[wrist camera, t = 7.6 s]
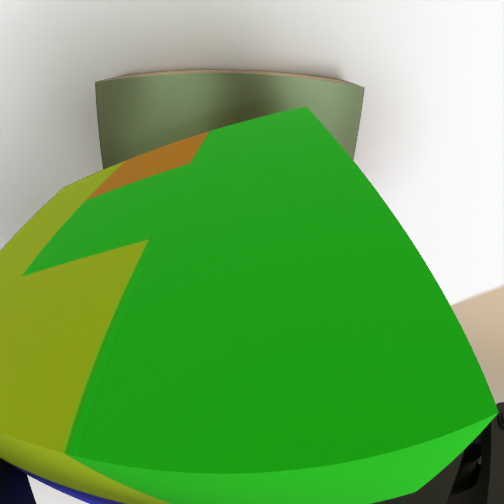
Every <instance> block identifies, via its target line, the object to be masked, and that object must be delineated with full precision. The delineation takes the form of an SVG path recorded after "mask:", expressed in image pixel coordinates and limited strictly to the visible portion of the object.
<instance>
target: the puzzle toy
mask: <svg viewBox="0 0 504 504" xmlns="http://www.w3.org/2000/svg"><path fill="white" fill-rule="evenodd" d="M498 413H499V412H498V409H497V407H496V404H495V402H494V399H493V396H492V394H491V391H490V389H489V386H488V384H487V382H486V379H485V377H484V374H483V372H482V370H481V367H480V365H479V363H478V361H477V358H476V356H475V354H474V352H473V350H472V348H471V346H470V344H469V342H468V340H467V337H466V335H465V333H464V331H463V329H462V327H461V325H460V324H459V322H458V320H457V318H456V316H455V314H454V313H453V310H452V308H451V306H450V305H449V303H448V301H447V299H446V297H445V296H444V294H443V292H442V290H441V288H440V287H439V285H438V283H437V282H436V280H435V278H434V276H433V275H432V273H431V271H430V270H429V268H428V266H427V265H426V263H425V262H424V260H423V258H422V257H421V255H420V254H419V252H418V250H417V249H416V247H415V246H414V244H413V243H412V241H411V240H410V238H409V236H408V235H407V233H406V232H405V230H404V229H403V228H402V226H401V225H400V223H399V222H398V220H397V219H396V217H395V216H394V214H393V213H392V212H391V210H390V209H389V207H388V206H387V205H386V203H385V202H384V200H383V199H382V198H381V196H380V195H379V194H378V192H377V191H376V190H375V188H374V187H373V186H372V184H371V183H370V182H369V180H368V179H367V178H366V176H365V175H364V174H363V172H362V171H361V170H360V169H359V167H358V166H357V165H356V164H355V162H354V161H353V160H352V159H351V157H350V156H349V155H348V154H347V152H346V151H345V150H344V149H343V148H342V146H341V145H340V144H339V143H338V142H337V140H336V139H335V138H334V137H333V136H332V135H331V133H330V132H329V131H328V130H327V129H326V128H325V127H324V125H323V124H322V123H321V122H320V121H319V120H318V119H317V118H316V116H315V115H314V114H313V113H312V112H311V111H310V110H309V109H308V108H307V107H302V108H297V109H293V110H288V111H284V112H279V113H275V114H271V115H267V116H263V117H259V118H255V119H251V120H247V121H243V122H240V123H236V124H233V125H229V126H225V127H222V128H219V129H215V130H212V131H209V132H205V133H202V134H199V135H196V136H193V137H190V138H187V139H184V140H181V141H178V142H175V143H172V144H169V145H166V146H163V147H160V148H158V149H155V150H152V151H149V152H147V153H144V154H141V155H139V156H136V157H134V158H131V159H128V160H126V161H123V162H121V163H118V164H116V165H114V166H111V167H109V168H106V169H104V170H102V171H99V172H97V173H95V174H92V175H90V176H88V177H86V178H84V179H81V180H79V181H77V182H75V183H73V184H71V185H68V186H66V187H64V188H63V189H62V190H61V191H59V192H58V193H57V194H56V195H55V196H54V197H53V198H52V199H51V200H50V201H49V202H48V203H46V204H45V205H44V206H43V207H42V208H41V209H40V210H39V211H38V212H37V213H36V214H35V215H34V216H33V217H32V218H31V219H30V220H29V221H28V222H27V223H26V224H25V225H24V226H23V227H22V228H21V229H20V230H19V231H18V232H17V233H16V235H15V236H14V237H13V238H12V239H11V240H10V241H9V242H8V243H7V244H6V245H5V246H4V248H3V249H2V250H1V251H0V458H1V459H3V460H4V461H6V462H7V463H9V464H10V465H12V466H14V467H15V468H17V469H19V470H20V471H22V472H24V473H25V474H27V475H29V476H31V477H32V478H35V479H37V480H38V481H40V482H42V483H44V484H46V485H48V486H50V487H52V488H54V489H57V490H59V491H61V492H63V493H66V494H68V495H70V496H72V497H75V498H77V499H79V500H82V501H84V502H87V503H89V504H400V503H402V502H403V501H404V500H406V499H407V498H408V497H410V496H411V495H412V494H414V493H415V492H416V491H418V490H419V489H420V488H421V487H423V486H424V485H425V484H426V483H428V482H429V481H430V480H431V479H432V478H434V477H435V476H436V475H437V474H438V473H439V472H441V471H442V470H443V469H444V468H445V467H446V466H447V465H448V464H450V463H451V462H452V461H453V460H454V459H455V458H456V457H457V456H458V455H459V454H460V453H461V452H462V451H463V450H464V449H465V448H466V447H467V446H468V445H469V444H470V443H471V442H472V441H473V440H474V439H475V438H476V437H477V436H478V435H479V434H480V433H481V432H482V431H483V430H484V429H485V428H486V426H487V425H488V424H489V423H490V422H491V421H492V420H493V419H494V417H495V416H496V415H497V414H498Z"/></svg>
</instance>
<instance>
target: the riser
mask: <svg viewBox="0 0 504 504" xmlns="http://www.w3.org/2000/svg"><path fill="white" fill-rule="evenodd" d="M95 88H96V104H97V117H98V128H99V138H100V147H101V155H102V163H103V170H104V169H106V168H109V167H111V166H114V165H116V164H118V163H121V162H123V161H126V160H128V159H131V158H134V157H136V156H139V155H141V154H144V153H147V152H149V151H152V150H155V149H158V148H160V147H163V146H166V145H169V144H172V143H175V142H178V141H181V140H184V139H187V138H190V137H193V136H196V135H199V134H202V133H205V132H209V131H212V130H215V129H219V128H222V127H225V126H229V125H233V124H236V123H240V122H243V121H247V120H251V119H255V118H259V117H263V116H267V115H271V114H275V113H279V112H284V111H288V110H293V109H297V108H302V107H307V108H308V109H309V110H310V111H311V112H312V113H313V114H314V115H315V116H316V118H317V119H318V120H319V121H320V122H321V123H322V124H323V125H324V127H325V128H326V129H327V130H328V131H329V132H330V133H331V135H332V136H333V137H334V138H335V139H336V140H337V142H338V143H339V144H340V145H341V146H342V148H343V149H344V150H345V151H346V152H347V154H348V155H349V156H350V157H351V159H352V160H353V159H354V153H355V147H356V141H357V135H358V129H359V123H360V117H361V110H362V103H363V96H364V87H361V86H359V85H356V84H353V83H350V82H347V81H344V80H338V79H331V78H325V77H317V76H310V75H301V74H292V73H281V72H268V71H250V70H178V71H161V72H148V73H138V74H128V75H122V76H118V77H114V78H109V79H105V80H101V81H98V82H95Z"/></svg>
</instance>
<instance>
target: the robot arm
mask: <svg viewBox="0 0 504 504" xmlns="http://www.w3.org/2000/svg"><path fill="white" fill-rule="evenodd" d="M496 407H497V409H498V412H499V413H498V414H497V415H496V416H495V417H494V419H493V420H492V421H491V422H490V423H489V424H488V425H487V426H486V428H485V429H484V430H483V431H482V432H481V433H480V434H479V435H478V436H477V437H476V438H475V439H474V440H473V441H472V442H471V443H470V444H469V445H468V446H467V447H466V448H465V449H464V450H463V451H462V452H461V453H460V454H459V455H458V456H457V457H456V458H455V459H454V460H453V461H452V462H451V463H450V464H448V465H447V466H446V467H445V468H444V469H443V470H442V471H441V472H439V473H438V474H437V475H436V476H435V477H434V478H432V479H431V480H430V481H429V482H428V483H426V484H425V485H424V486H423V487H421V488H420V489H419V490H418V491H416V492H415V493H414V494H412V495H411V496H410V497H408V498H407V499H406V500H404V501H403V502H402V503H400V504H504V402H502V403H498V404H497V405H496ZM0 504H36V501H35V499H34V496H33V493H32V490H31V487H30V483H29V480H28V477H27V474H25V473H24V472H22V471H20V470H19V469H17V468H15V467H14V466H12V465H10V464H9V463H7V462H6V461H4V460H3V459H1V458H0Z"/></svg>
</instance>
